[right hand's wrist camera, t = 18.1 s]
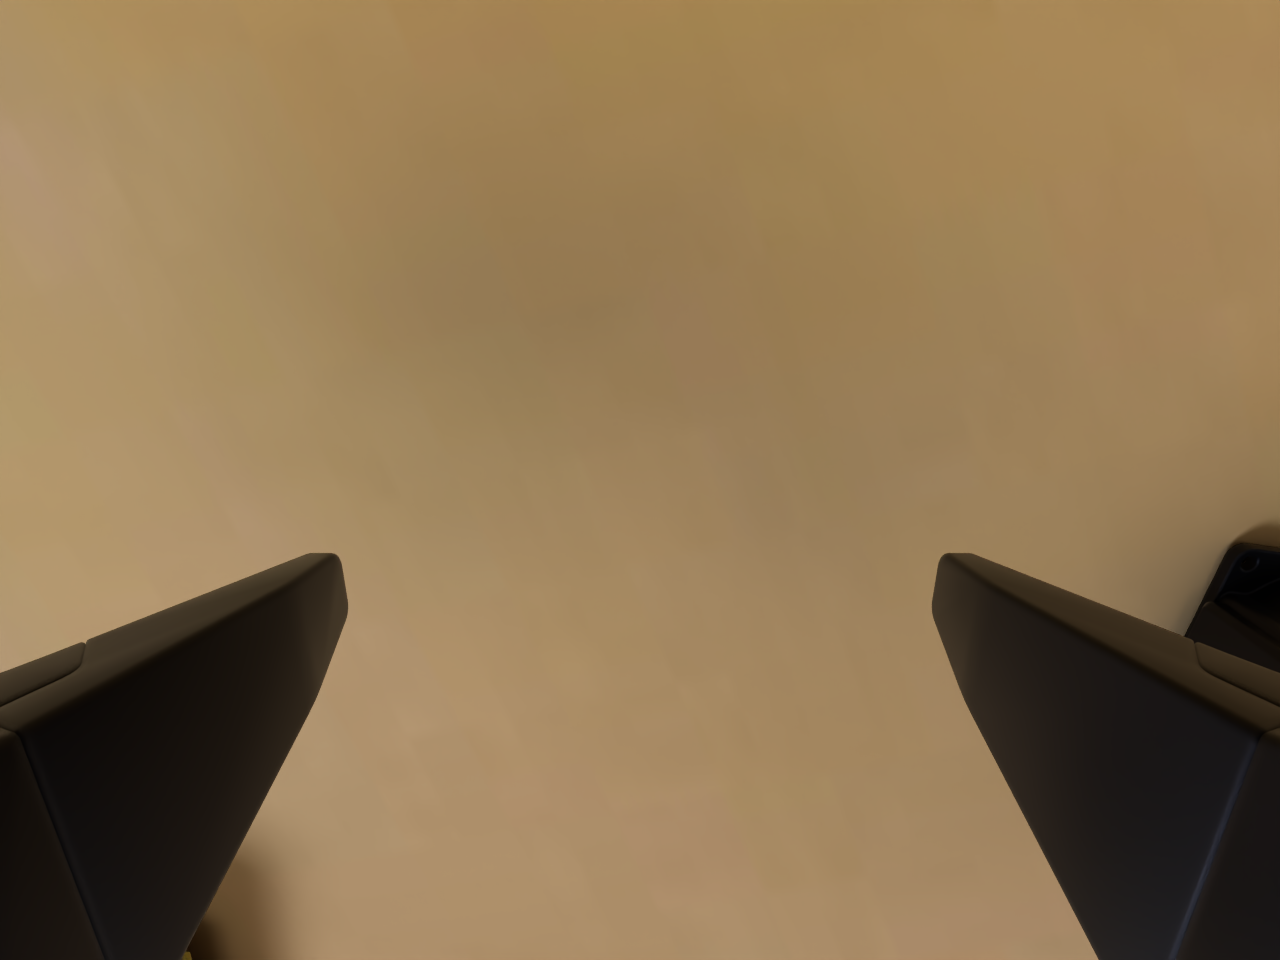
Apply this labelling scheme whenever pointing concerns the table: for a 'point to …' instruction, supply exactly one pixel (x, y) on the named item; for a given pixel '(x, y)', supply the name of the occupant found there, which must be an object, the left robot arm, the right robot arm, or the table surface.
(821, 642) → the table surface
